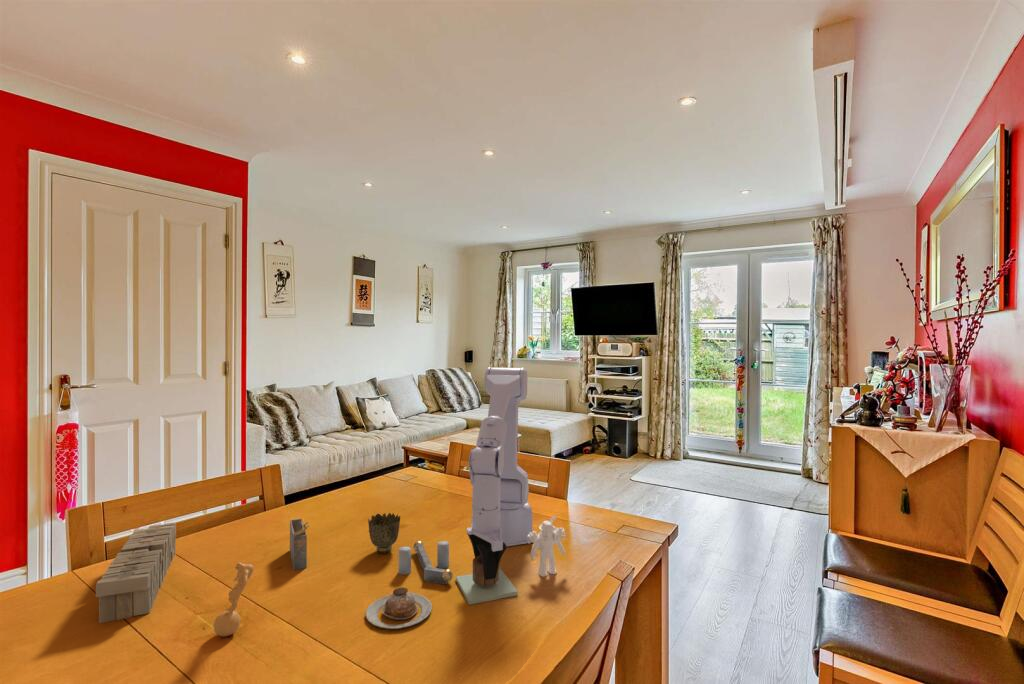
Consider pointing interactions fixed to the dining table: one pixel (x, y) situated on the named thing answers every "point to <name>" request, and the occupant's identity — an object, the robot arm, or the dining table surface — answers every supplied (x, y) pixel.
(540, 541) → the hat wearing toy figure
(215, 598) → the dining table surface
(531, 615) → the dining table surface
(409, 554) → the grey rounded cylinder
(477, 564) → the napkin ring
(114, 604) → the block tower
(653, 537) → the dining table surface
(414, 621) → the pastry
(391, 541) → the cup
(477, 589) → the pad
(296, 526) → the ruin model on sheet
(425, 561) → the rail
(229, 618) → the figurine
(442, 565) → the post inner
